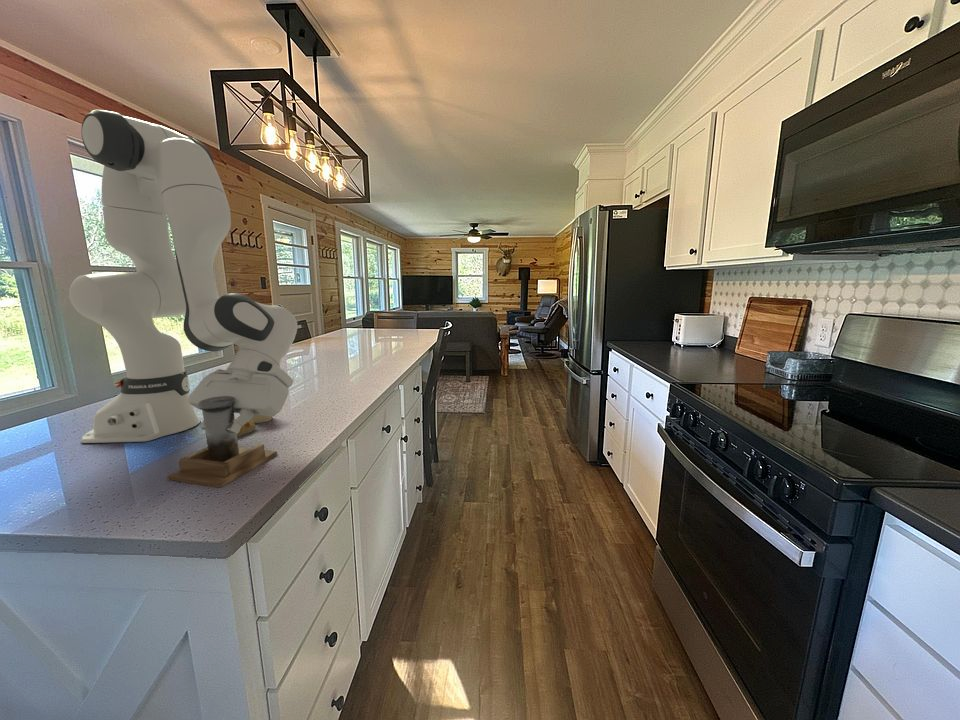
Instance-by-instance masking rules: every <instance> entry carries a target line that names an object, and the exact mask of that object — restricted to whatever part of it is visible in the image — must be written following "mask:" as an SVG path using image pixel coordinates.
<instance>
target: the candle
mask: <svg viewBox="0 0 960 720" xmlns="http://www.w3.org/2000/svg"><path fill="white" fill-rule="evenodd" d="M272 419H273V416H265V415H253V417H252V419H251V420H252V421H253V422H254V424H262V423H263V424H264V423H267V422H269V421H272Z"/></svg>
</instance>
